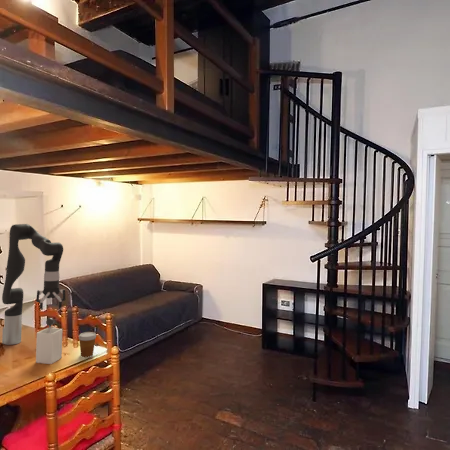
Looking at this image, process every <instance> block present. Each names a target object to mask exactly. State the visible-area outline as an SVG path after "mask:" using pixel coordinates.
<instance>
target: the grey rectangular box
mask: <svg viewBox="0 0 450 450" xmlns="http://www.w3.org/2000/svg"><path fill="white" fill-rule="evenodd" d="M55 328H56V327H55ZM55 328H51V334H50V333H49V327H47V328H44V329H42V330H40V331H37V332H36V344H35V345H36V346H35V348H36V349H35V351H36V352H35V363H37V364H48V365H52V364H54V363H56V362H58V361H59V360H60V359H62V358H63V357H62V353H63V352H62V351H63V328H58V329H55Z"/></svg>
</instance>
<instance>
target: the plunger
mask: <svg viewBox="0 0 450 450" xmlns="http://www.w3.org/2000/svg"><path fill="white" fill-rule="evenodd" d="M45 324H46V325H47V326H48V328H49V333H50V334H51V327H52V326H54V324H55V320H54V318H52V317H48V318H47V319H46V321H45Z"/></svg>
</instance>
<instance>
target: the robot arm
mask: <svg viewBox="0 0 450 450" xmlns="http://www.w3.org/2000/svg"><path fill="white" fill-rule="evenodd" d="M8 238H9V239H8V240H9V241H8V242H9V243H8V256H7V261H6V269H5V280H4V286H3V289H2V294H1V295H2V297H1V301H2V304H3V305H12V304H13V306H11V307H9V308H7V309H6V310H5V311H4V319H3V321H4V323H3V325H4V326H3V327H2V336H1V337H2V339H1V344H3V345H6V346H7V345H8V346H10V345H11V346H12V345H18V344H20V343H22V325H23V307H24V306H23V305H24V304H23V303H24V289H23V288H21V287H16V288H15V287H14V288H12V287H13V286H14V284H15V282H16V281H17V280H18V279H19V278H20V276H21V275H22V274H23V272H24V271H25V265H26V258H25V256H24V254H23V253H22V251H21V249H20V248H19V241H21V240H31V245H32V246H34V247H35V248H36V249H38V250H39V251H40V252H41V253H42V254H43V255H44V256H47V257H51V259H48V260H46V261H45V262H44V273H43V274H44V275H43V290H40V289H37V291H36V299H35V302H36V303H38V304H39V309H40V310H42V311H43V310H44V309H43V308H44V301H45V300H46V299H55V298H56V299H57V301H58V309H61V308H62V307H63V306H62V305H63V303H62V302H64V301H66V289H65V288H63V289H60V278H61V277H60V262H61V260H62V256H63V253H64V245H63V244H62V243H61V242H52V241H51V240H50V239H49V238H47V237H46V236H43V235H42V234H40V232H38V231H37V230H36V229H35V228H34V227H33V226H32V225H30V224H28V223H19V224H18V223H17V224H12V225H11V226H10V229H9V237H8ZM60 293H61V294H62V298H61V296H60V295H59V294H60ZM42 294H43V296H42V298H41V299H40V295H42Z"/></svg>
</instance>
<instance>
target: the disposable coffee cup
mask: <svg viewBox="0 0 450 450" xmlns="http://www.w3.org/2000/svg"><path fill="white" fill-rule="evenodd" d="M96 337H97V333H95V332H93V331H85V332H82V333H80V334H79V336H78V340H79V349H80V356H82V357H81V358H90V356H91V357H92V356H93V355H94V349H95V343H96Z"/></svg>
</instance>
